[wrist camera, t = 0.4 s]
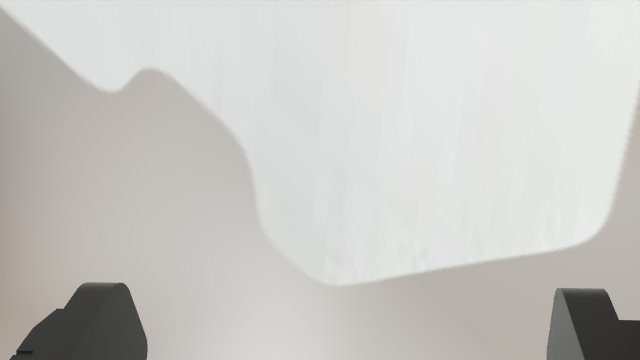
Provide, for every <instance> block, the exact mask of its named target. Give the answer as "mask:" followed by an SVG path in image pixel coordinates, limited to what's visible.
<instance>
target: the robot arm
mask: <svg viewBox="0 0 640 360" xmlns="http://www.w3.org/2000/svg"><path fill="white" fill-rule="evenodd" d="M16 351H17V353H16V355H13V356H12V357H11V359H10V360H146V359H147V339H146V335H145V332H144V330H143V327H142V324H141V321H140V319H139V316H138V313H137V310H136V308H135V305H134V302H133V299H132V296H131V294H130V291H129V289H128V287H127V286H126V285H125V284H123V283H88V282H87V283H84V284H82V285H81V286H80V287H79V288H78V289H77V290H76V292H75V293H74V295H73V296H72V297H71V299H70V300H69V302H68V303H67V305H66V306H65V307H64V309H56V310H55V311H54V312H52V313H51V314H50V315H49V316H47V317H46V318H45V319H44V320H42V321H41V322H40V323H39V324H37V325H36V326H35V327H34V328H33V329H32V330H31V331H30V333H29V334H28V336H27V337H26V338H25V340H24V341H23V342H22V344H21V345H20V346H19V348H18V349H17V350H16ZM547 360H640V321H636V320H635V321H634V320H619V319H618V317H617V314H616V312H615V309H614V307H613V305H612V302H611V300H610V297H609V296H608V293H607V292H606V291H605V290H604V289H576V288H574V289H573V288H572V289H571V288H558V289H557V290H556V292H555V297H554V304H553V310H552V318H551V324H550V332H549V339H548V346H547Z"/></svg>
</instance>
